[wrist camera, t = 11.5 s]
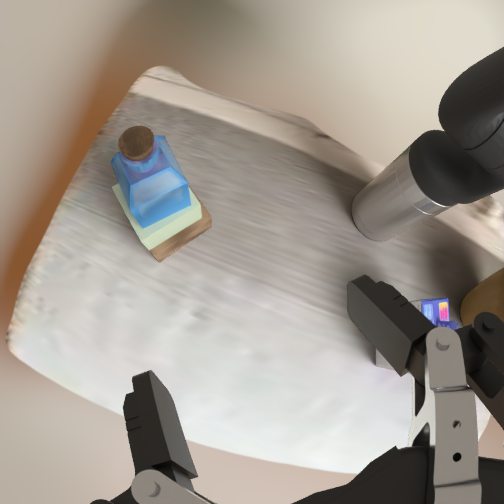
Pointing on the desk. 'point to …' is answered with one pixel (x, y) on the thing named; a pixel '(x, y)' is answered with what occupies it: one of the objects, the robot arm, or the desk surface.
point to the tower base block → (183, 236)
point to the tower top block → (161, 221)
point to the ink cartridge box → (434, 312)
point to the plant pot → (484, 299)
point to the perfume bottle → (149, 176)
